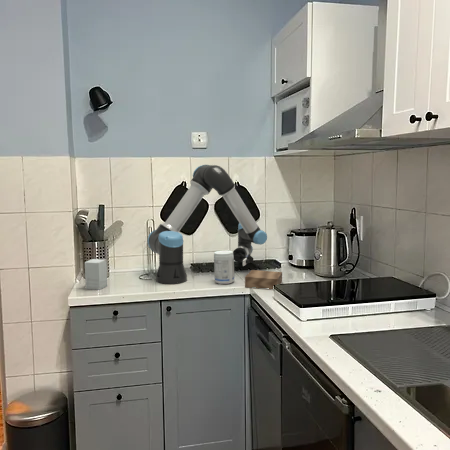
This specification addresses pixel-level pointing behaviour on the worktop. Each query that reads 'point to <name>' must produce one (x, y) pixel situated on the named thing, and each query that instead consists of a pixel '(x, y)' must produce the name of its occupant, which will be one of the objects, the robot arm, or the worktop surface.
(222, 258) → the supplement tub
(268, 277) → the walnut block
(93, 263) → the supplement box
